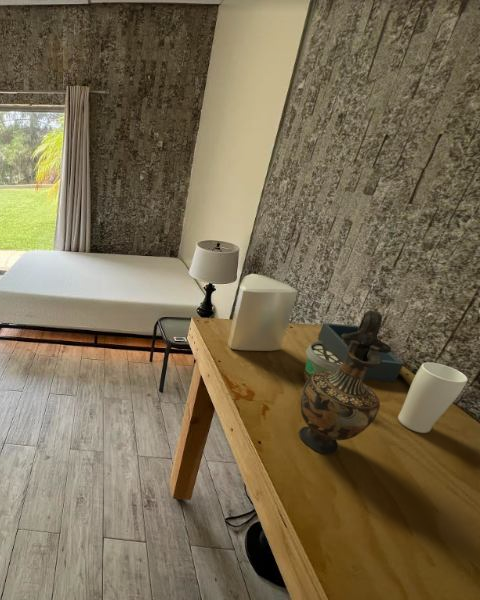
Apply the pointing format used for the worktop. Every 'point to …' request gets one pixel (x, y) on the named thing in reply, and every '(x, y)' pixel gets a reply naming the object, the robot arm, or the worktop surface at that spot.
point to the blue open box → (336, 345)
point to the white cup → (430, 396)
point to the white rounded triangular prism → (261, 314)
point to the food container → (320, 360)
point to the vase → (343, 391)
